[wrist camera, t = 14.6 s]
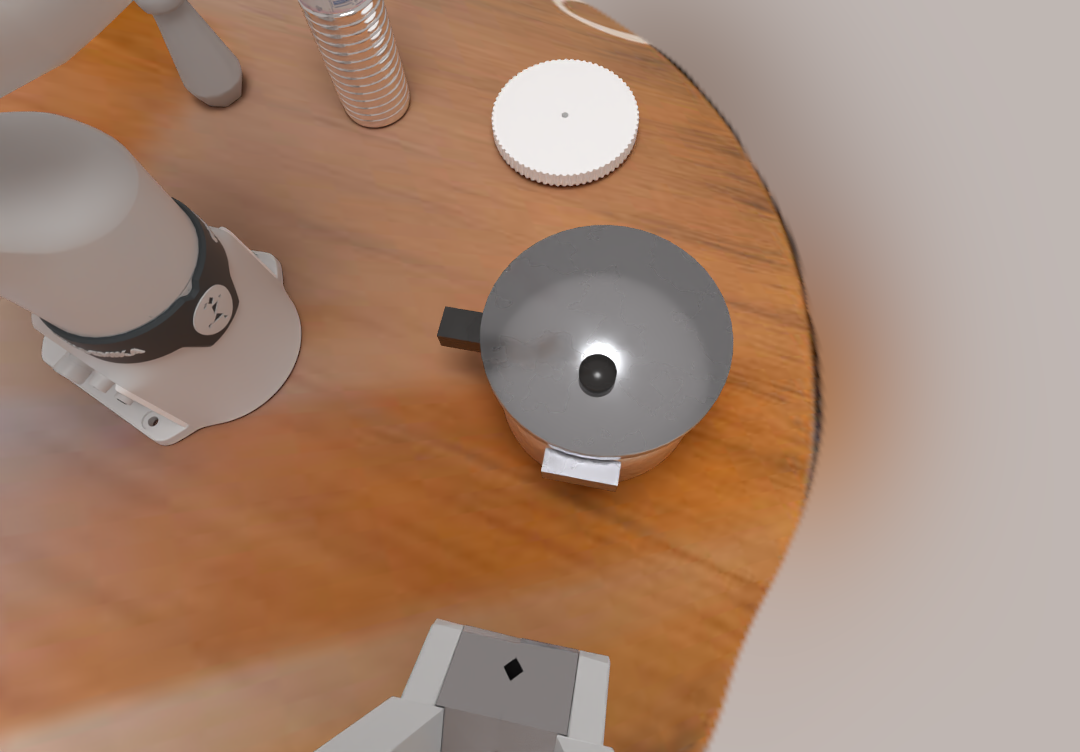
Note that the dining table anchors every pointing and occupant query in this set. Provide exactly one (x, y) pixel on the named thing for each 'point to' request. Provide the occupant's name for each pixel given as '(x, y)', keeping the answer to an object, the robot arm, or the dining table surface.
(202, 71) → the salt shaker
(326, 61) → the water bottle
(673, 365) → the cooker lid
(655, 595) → the dining table surface
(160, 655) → the dining table surface
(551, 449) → the cooker pot
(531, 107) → the plastic lid
